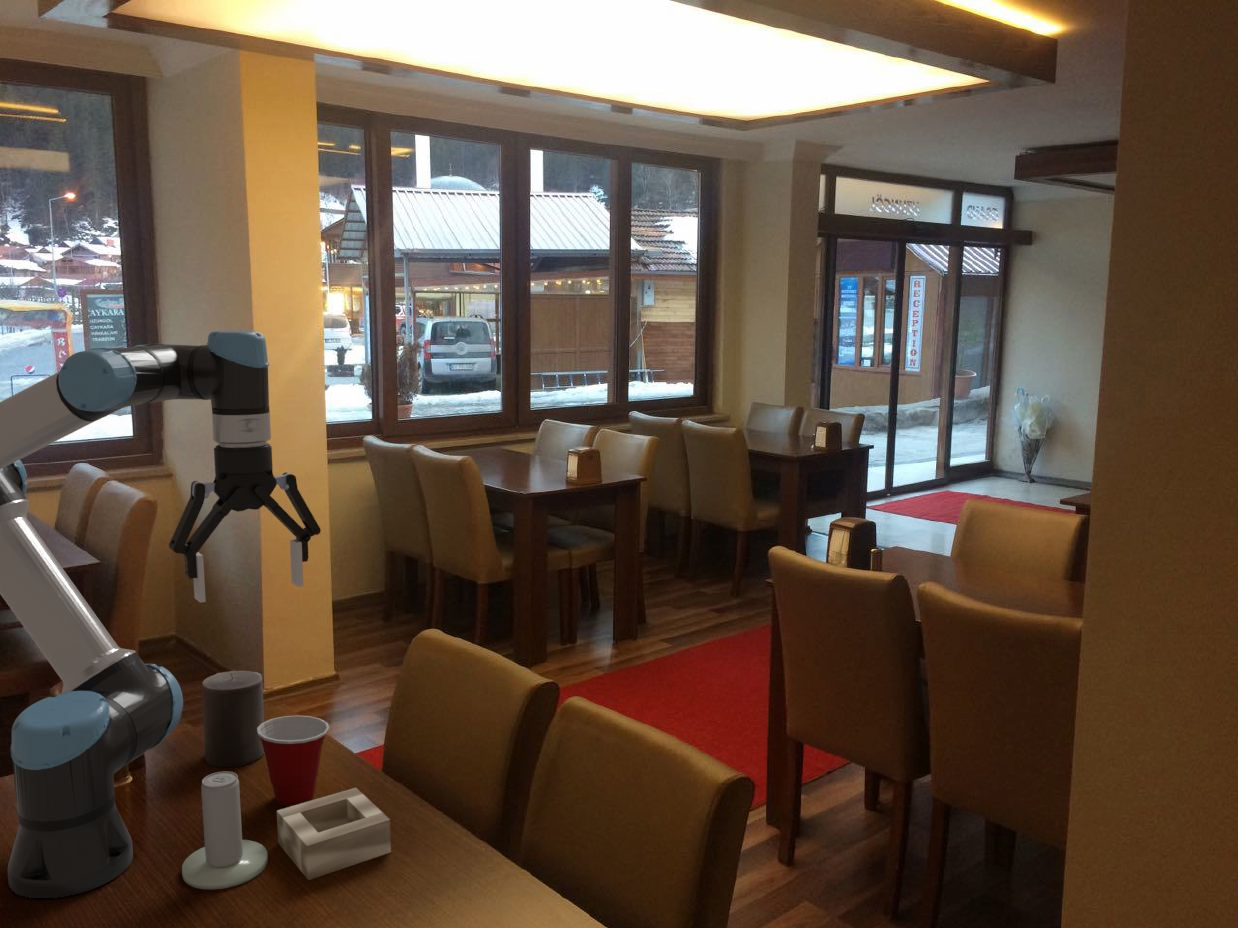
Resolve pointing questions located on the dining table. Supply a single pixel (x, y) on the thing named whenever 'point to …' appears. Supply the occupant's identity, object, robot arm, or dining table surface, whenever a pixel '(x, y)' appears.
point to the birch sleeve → (333, 832)
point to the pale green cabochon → (218, 878)
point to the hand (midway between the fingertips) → (250, 592)
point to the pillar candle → (232, 718)
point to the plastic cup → (293, 755)
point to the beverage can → (222, 819)
